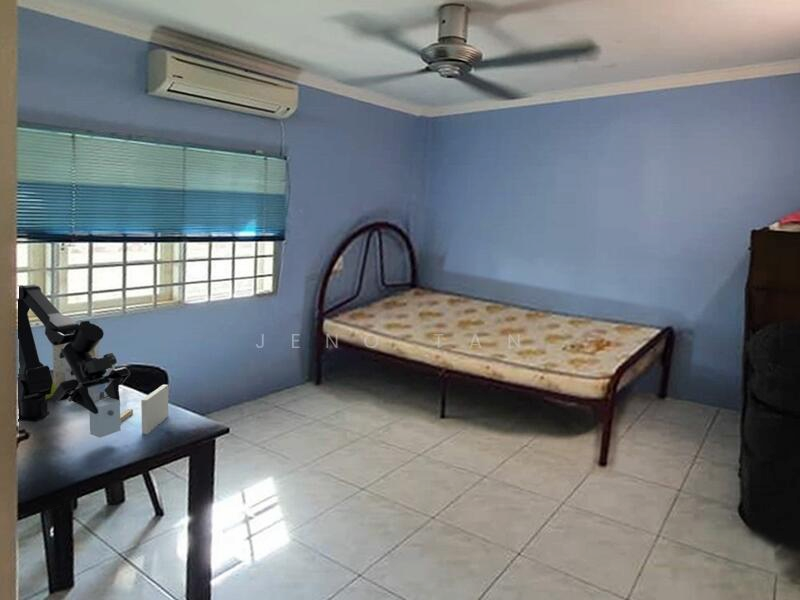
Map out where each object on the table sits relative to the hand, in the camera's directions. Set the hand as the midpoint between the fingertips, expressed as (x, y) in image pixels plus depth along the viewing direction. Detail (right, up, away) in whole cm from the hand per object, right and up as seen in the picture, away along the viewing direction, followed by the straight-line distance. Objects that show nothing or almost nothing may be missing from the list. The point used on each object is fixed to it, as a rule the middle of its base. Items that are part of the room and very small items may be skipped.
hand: (108, 409), depth 150 cm
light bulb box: (-23, -3, +37) cm, 44 cm away
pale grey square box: (-2, -6, +2) cm, 7 cm away
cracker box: (-34, -1, +45) cm, 56 cm away
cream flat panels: (0, -7, +17) cm, 19 cm away
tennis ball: (-37, -3, +32) cm, 49 cm away
